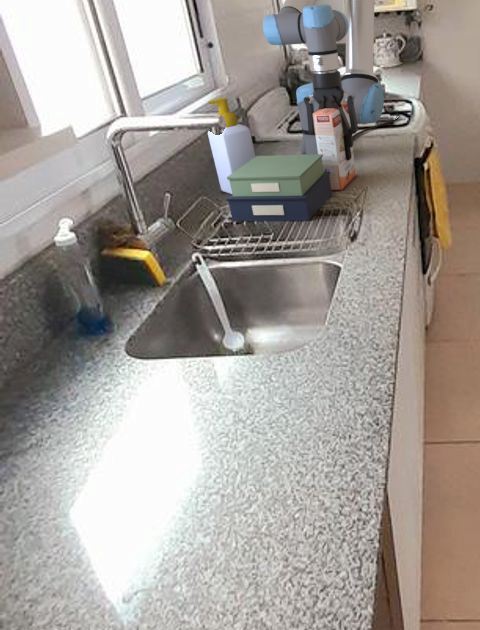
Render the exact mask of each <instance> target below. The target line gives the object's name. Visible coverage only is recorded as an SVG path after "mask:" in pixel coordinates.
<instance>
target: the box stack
mask: <svg viewBox="0 0 480 630" xmlns="http://www.w3.org/2000/svg"><path fill="white" fill-rule="evenodd" d="M322 157H323V154H313V155H300V154H286V155H285V154H279V155H277V154H276V155H272V154H271V155H255V157H254V158H253V159H251V160H250V161H249V162H247V163H246V164H244V165H243V166H242V167H240V168H239V169H237V170H236V171H235V172H233V173H232V174H231V175H229V176H228V177H227V180H229V182H230V186H231V190H232V194H229V195H228V196H227V197H225V201H226V202H228V206H229V211H230V215H231V219H232V220H231V221H233V222H283V221H284V222H291V221H292V222H293V221H295V222H297V221H298V222H300V221H301V222H303V221H306V222H307V221H308V222H309V221H310V220H311V219H312V218H313V217H314V216H315V214H316V213H317V212H318V211H319V210H320V208H321V207H322V206H323V205H324V203H326V201H327V200H328V199H329V197H330V196H331V195H332V194H333V193H332V190H331V185H330V178H329V175H330V172H324V170H323V164H322Z"/></svg>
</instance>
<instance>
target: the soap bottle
mask: <svg viewBox="0 0 480 630" xmlns="http://www.w3.org/2000/svg"><path fill="white" fill-rule="evenodd" d="M208 104H209V105H217V108H218V113H216V115H222V116H223V117H224V118H225V121H226V126H225V129H224V131H223V133H222V134H220V135H215V134H213V133H212V132H210V131H209V130H208V131H207V136H208V141H209V144H210V149H211V154H212V157H213V163H214V165H215V170H216V174H217V178H218V182H219V186H220V190H221V191H222V192H223V193H226V194H229V195H231V194H232V190H231V186H230V182H229V180H227V177H228V176H229V175H231V174H232V173H233V172H235V171H236V170H237V169H239V168H240V167H242V166H243V165H244V164H246V163H247V162H249V161H250V160H251V159H253V158H254V157H255V156H256V154H255V153H256V152H255V148H254V144H253V137H252V133H251V129H250V128H249V127H248V126H247V125H244V124H241V123H239V122H238V117H237V115H236V113H234V112H232V111H230V108H229V103H228V99H227V97H218V98H214V99H211V100H208Z"/></svg>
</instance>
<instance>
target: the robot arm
mask: <svg viewBox="0 0 480 630" xmlns="http://www.w3.org/2000/svg"><path fill="white" fill-rule="evenodd" d="M317 3H318V0H284V2H283V4H282V6H281V8H280V9H279V11H278V13H277V14H275V13H272V14H268V15H265V16H264V18H263V21H262V31H263V35H264V37H265V40H266V41H267V43H268V44H269V45H271V46H288V45H289V46H290V45H303V44H305V45H306V48H307V55H308V61H309V68H310V71H311V72H312V73H311V82H310V83H306V84H302V85H301V86H299V87H298V88H296V91H295V95H296V105H297V109H298V115H299V122H300V128H301V133H302V137H301V144H300V152H299V155H313V154H318V149H317V142H316V135H315V128H314V120H313V113H315V112H316V111H318V110H320V109H324V108H334V109H338V110H339V111H340V115H341V122H342V127H343V129H344V131H345V134H346V135H345V136H344V145H345V152H346V160H350V159H351V158H352V157H351V149H350V147H352V146H353V147H354V139H355V138H357V137H358V136H360V135H361V134H364V133H366V132H369V131H371V130H373V129H377V128H380V127H384V126H386V125H388V124H392V123H394V122H396V121H398V120H399V119H400V117H401V116H400V114H399V113H398V112H397V113H396V118H397V116H399V117H398V118H397V119H396V118H394V119H395V120H394V119H391V120H392V121H391V120H388V121H389V122H388V121H385V122H386V123H385V122H382V123H383V124H382V123H379V124H380V125H379V124H376V125H377V126H376V125H373V126H374V127H373V126H371V127H368V128H365V129H362V130H360V131H359V126H358V125H367V124H375V123H378V121H379V120H380V119H381V117H382V114H383V111H384V105H385V96H384V94H385V90H384V86H383V85H382V83H380V82H379V78H378V77H377V76H376V74H374V59H375V58H374V53H375V52H374V51H375V47H374V46H375V0H346V2H345V4H346V6H345V7H346V11H345V14H344V12H341V11H340V10H338V9H337V10H336V9H333V7H332V5H330V4H328V3H327V4H326V3H323V4H317ZM344 38H345V72H344V73H343V74H341V72H340V71H339V69H340V61H339V54H338V46H337V44H338V43H337V42H340V41H342V40H344ZM341 103H347V108H348V113H349V119H350V125H349V123H348V120H347V118H346V116H345V113H344V111H343V107H342V105H341ZM338 106H339V107H338ZM350 126H351V127H350Z"/></svg>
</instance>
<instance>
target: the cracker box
mask: <svg viewBox="0 0 480 630" xmlns="http://www.w3.org/2000/svg"><path fill="white" fill-rule="evenodd" d="M341 105H342V107H343V111H344V113H345V116H346V118H347V120H348V123H349V125H350V127H351V124H350V119H349V113H348V108H347V103H341ZM338 107H339V106H338ZM313 120H314V128H315V135H316V142H317V149H318V154H323V157H322V164H323V170H324V172H330V175H329V178H330V185H331V191H342V190H343V189H344V188H345V187H346V186H347V185H348V184H349V183H350V182H351V181H352V180H353V179H354V178H355V177H356V176H357V174H356V173H357V172H356V166H355V156H354V155H355V154H354V145H353V146H352V147H350V149H351V157H352V158H351V159H350V160H346V152H345V145H344V136H345V135H346V134H345V131H344V129H343V127H342V122H341V115H340V111H339V110H338V109H334V108H324V109H320V110H318V111H316V112H315V113H313Z"/></svg>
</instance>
